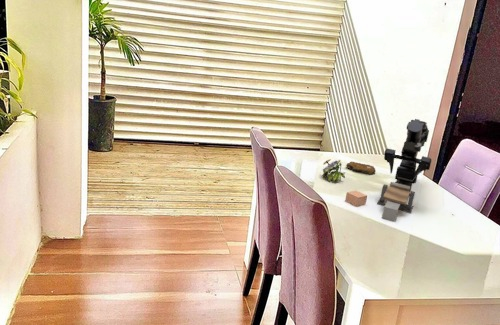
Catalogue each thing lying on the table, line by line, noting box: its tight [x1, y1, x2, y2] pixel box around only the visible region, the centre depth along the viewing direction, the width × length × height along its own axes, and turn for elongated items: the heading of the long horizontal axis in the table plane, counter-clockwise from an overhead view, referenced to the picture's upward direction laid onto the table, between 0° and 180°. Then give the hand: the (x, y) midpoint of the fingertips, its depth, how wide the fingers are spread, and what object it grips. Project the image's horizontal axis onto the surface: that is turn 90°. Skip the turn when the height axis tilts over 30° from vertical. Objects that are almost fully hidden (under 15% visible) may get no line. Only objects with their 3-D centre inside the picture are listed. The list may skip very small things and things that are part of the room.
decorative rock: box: [346, 161, 376, 175], centre depth 240 cm, size 11×4×15 cm
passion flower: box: [321, 158, 346, 183], centre depth 220 cm, size 11×11×12 cm
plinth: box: [344, 190, 368, 207], centre depth 194 cm, size 6×6×4 cm
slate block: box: [381, 201, 400, 222], centre depth 184 cm, size 5×5×8 cm
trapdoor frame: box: [376, 183, 416, 214], centre depth 195 cm, size 7×14×8 cm, turn 65°
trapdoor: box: [383, 181, 411, 205], centre depth 191 cm, size 13×9×2 cm
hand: (402, 175), depth 193 cm, fingers open, 9 cm apart
